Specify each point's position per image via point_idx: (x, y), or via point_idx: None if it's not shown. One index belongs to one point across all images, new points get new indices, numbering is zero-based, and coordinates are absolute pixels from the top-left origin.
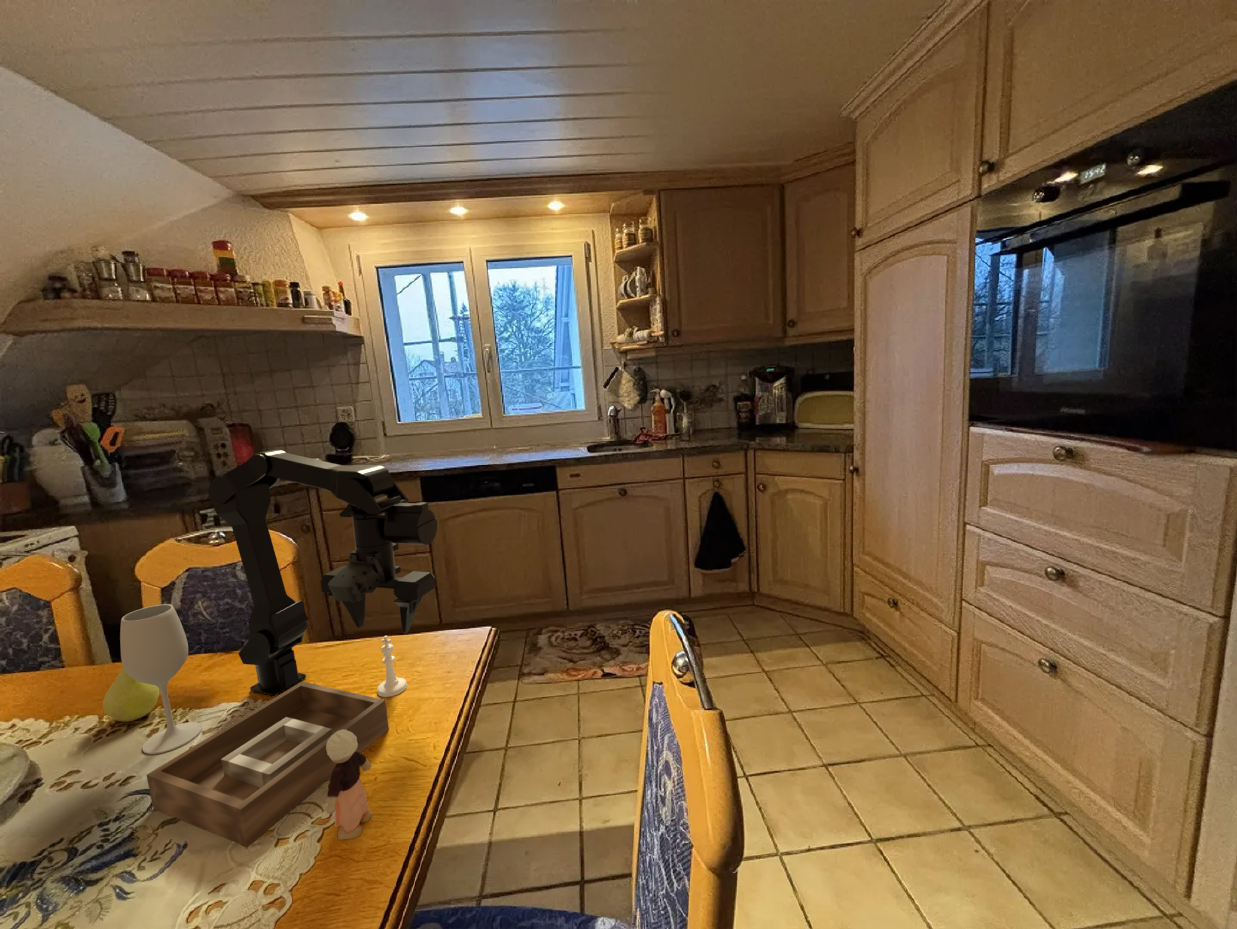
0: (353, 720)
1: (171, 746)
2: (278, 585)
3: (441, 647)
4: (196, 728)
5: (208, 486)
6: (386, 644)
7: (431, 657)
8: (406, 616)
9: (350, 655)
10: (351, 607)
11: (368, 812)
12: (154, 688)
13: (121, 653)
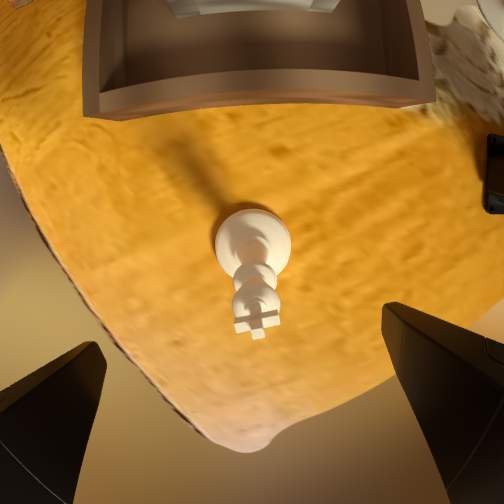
0: (95, 21)
1: None
2: None
3: (278, 402)
4: (499, 28)
5: None
6: (253, 310)
7: (268, 372)
8: (6, 390)
9: (456, 309)
10: (476, 369)
11: (14, 2)
12: None
13: None
